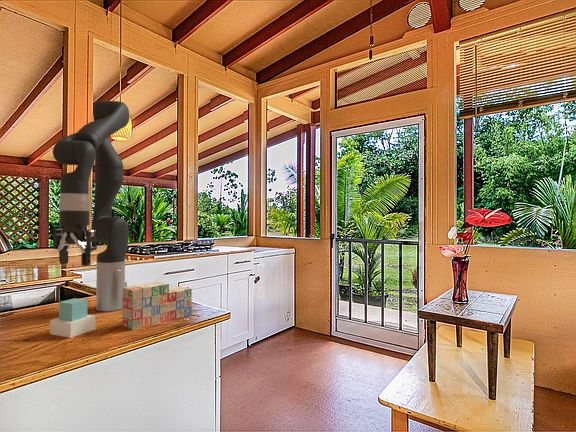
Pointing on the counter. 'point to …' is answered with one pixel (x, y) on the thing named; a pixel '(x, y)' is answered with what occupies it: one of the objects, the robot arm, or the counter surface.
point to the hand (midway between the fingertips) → (74, 264)
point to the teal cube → (72, 309)
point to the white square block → (72, 326)
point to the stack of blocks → (154, 304)
